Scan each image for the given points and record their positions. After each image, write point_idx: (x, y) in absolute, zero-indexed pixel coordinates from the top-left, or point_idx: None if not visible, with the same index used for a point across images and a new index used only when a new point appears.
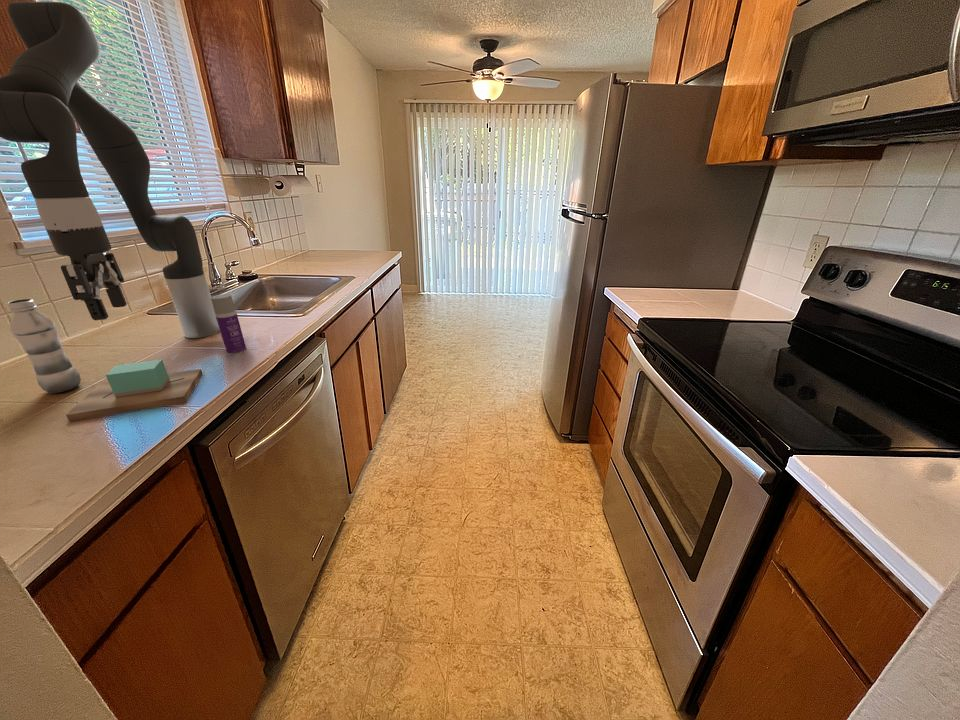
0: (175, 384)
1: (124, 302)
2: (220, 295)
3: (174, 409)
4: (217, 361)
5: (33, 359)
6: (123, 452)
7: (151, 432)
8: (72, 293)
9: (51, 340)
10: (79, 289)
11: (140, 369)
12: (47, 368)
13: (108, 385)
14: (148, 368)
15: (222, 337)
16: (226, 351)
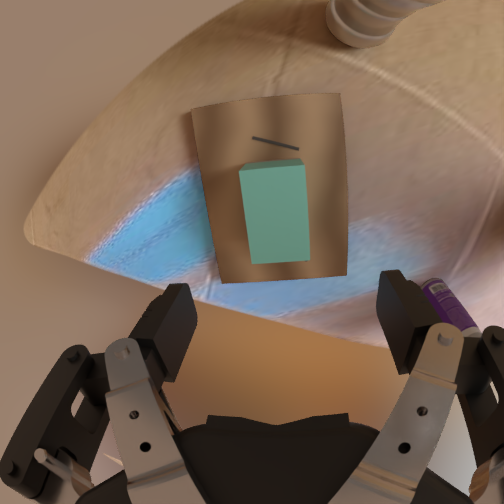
0: None
1: (381, 321)
2: None
3: (204, 266)
4: None
5: None
6: (105, 246)
7: (143, 260)
8: (56, 370)
9: (384, 2)
10: (111, 386)
11: (255, 237)
12: (340, 6)
13: (320, 116)
14: (255, 252)
15: (441, 302)
16: (429, 283)
